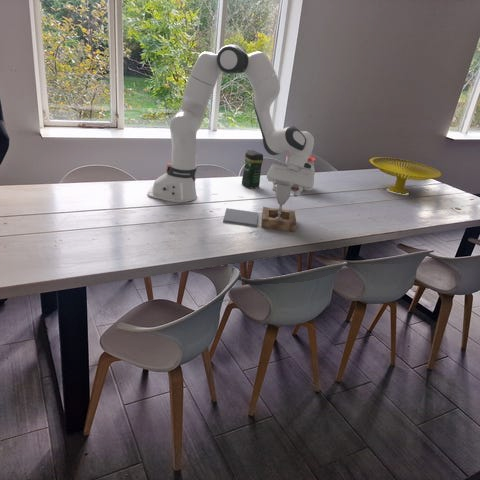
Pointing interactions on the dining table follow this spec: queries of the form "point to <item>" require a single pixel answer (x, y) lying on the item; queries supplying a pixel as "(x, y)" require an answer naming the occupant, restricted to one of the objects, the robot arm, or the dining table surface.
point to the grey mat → (240, 217)
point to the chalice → (282, 194)
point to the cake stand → (403, 172)
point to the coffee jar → (252, 169)
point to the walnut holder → (279, 224)
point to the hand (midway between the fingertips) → (284, 193)
